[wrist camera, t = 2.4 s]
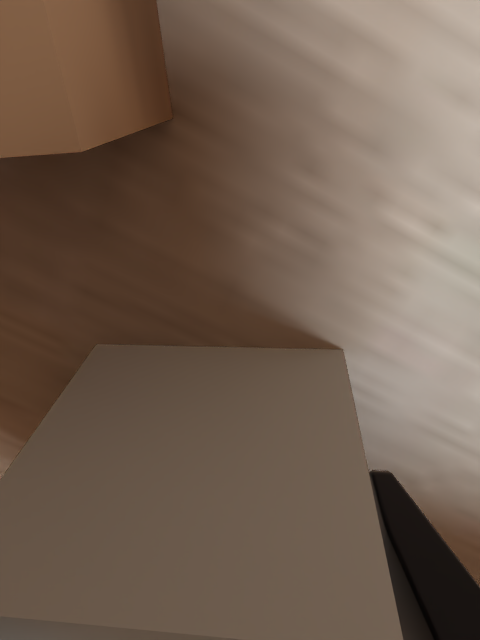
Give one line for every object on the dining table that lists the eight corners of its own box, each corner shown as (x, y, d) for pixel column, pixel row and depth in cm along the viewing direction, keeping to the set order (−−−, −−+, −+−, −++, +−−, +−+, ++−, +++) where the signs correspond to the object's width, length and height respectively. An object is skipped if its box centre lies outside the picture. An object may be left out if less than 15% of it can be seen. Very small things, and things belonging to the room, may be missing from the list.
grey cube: (325, 508, 11) (353, 802, 6) (137, 496, 11) (43, 760, 7) (342, 347, 8) (407, 655, 4) (97, 342, 9) (-92, 606, 4)
